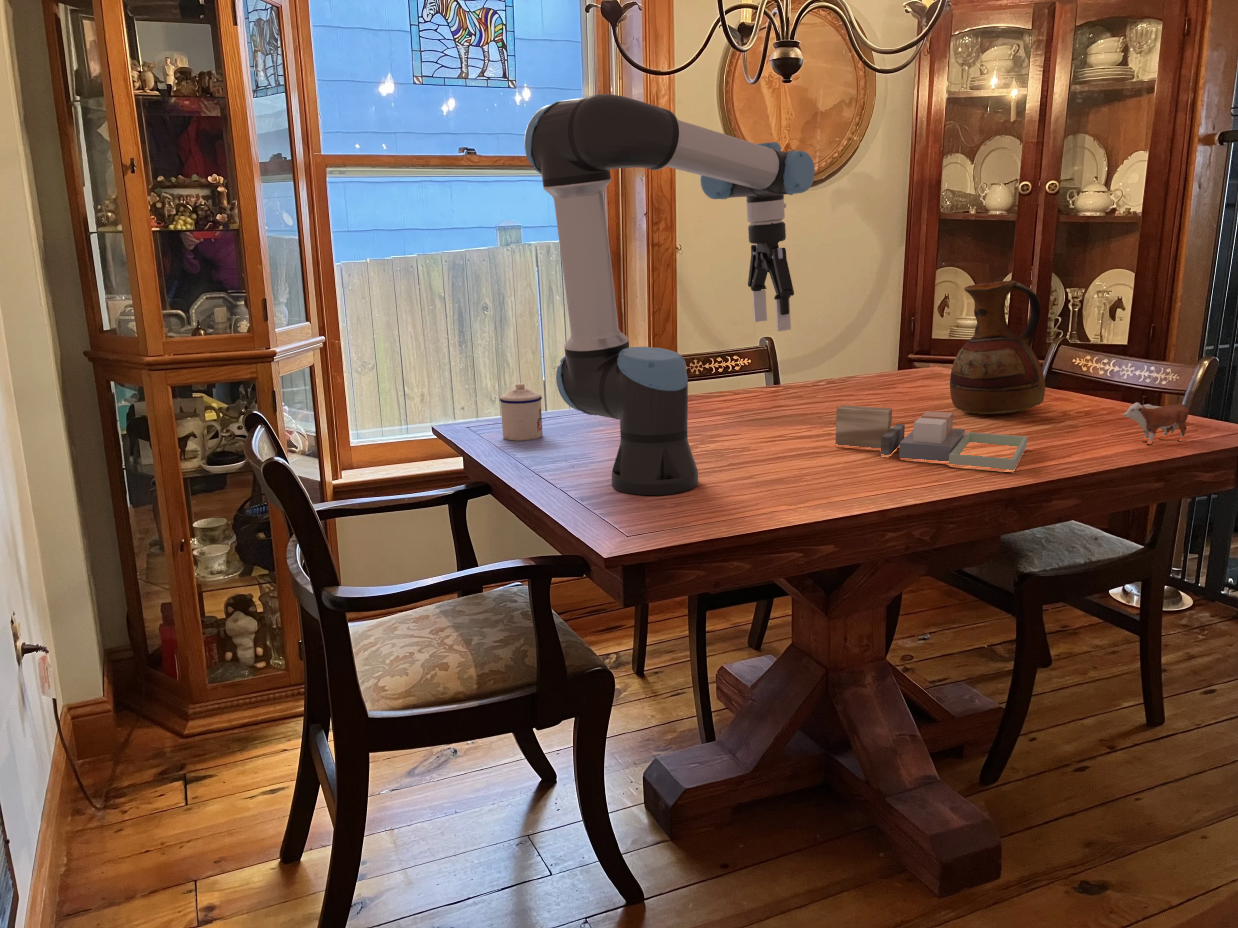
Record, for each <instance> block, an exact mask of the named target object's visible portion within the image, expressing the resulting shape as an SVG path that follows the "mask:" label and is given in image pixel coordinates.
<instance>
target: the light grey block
mask: <svg viewBox="0 0 1238 928" xmlns="http://www.w3.org/2000/svg"><path fill="white" fill-rule="evenodd" d="M946 426H947V420H945V419H930V418H922V417H919V418H917V419H916V421H914V423H913V430H914V433H913V441H917V442H930V443H942V442H943V440H944V439H945V438H946Z"/></svg>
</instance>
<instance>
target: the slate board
mask: <svg viewBox="0 0 1238 928" xmlns="http://www.w3.org/2000/svg"><path fill="white" fill-rule="evenodd" d="M965 431H966V429H964V428H955V427H953V428H952V431H951V433H950V434H949V435H948V436H946V438H945V439H944V440H943V442H942V443H930V442H917V441H913V433H914V429H912V430H911V432H909V433H908V434H907V435H906V436H904V439H903V440H902V441H901V442H900V448H899V449H898V450H899V452H898V454H899V455H898V459H899V458H910V459H911V458H912V459H924V460H925V459H926V460H938V461H949V454H950V453H951V452H952V450H953V449H954V448H955V447H956V445H957V444H958V443H959V442H960V440H961V439H962V438H963V437H964V436H965V434H966V433H965Z"/></svg>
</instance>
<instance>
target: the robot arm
mask: <svg viewBox="0 0 1238 928" xmlns="http://www.w3.org/2000/svg"><path fill="white" fill-rule="evenodd" d="M524 152H525V154H526V155H525V156H526V158H527V161H528V162H529V165H530V166H532V167H533V169H534V170H535V171H536V172H537V173H538V174H539V175H541V179H542V185H543V189H544V191H545V192H546V193H548V195H550V196H551V197H552V199H553V202H554V203H553V204H554V210H555V218H556V226H557V234H558V235H557V236H558V240H559V241H558V243H559V250H560V258H561V265H562V272H563V273H562V274H563V281H564V287H565V288H564V290H565V296H566V305H567V311H568V320H569V327H570V336H569V338H568V340H567V341H566V342H565V343H564V355H563V356H562V357H561V359H560V360H559V363H560V364H559V365H558V366H557V368H556V373H555V381H556V386H557V390H558V392H559V394H560V397H561V398H562V400H563V401H564V402H565V403H566V404H567V405H568V406H569V407H570V408H572V409H573V410H575V411H579V412H582V413H583V414H586V415H588V416H599V417H604V418H610V419H616V420H619V426H620V427H619V429H620V432H619V433H620V434H619V435H620V443H619V446H618V450H617V453H616V456H615V460H614V464H613V467H612V470H611V486H612V488H613V489H615V490H616V491H619V492H623V493H626V494H631V495H632V494H633V495H639V496H640V495H641V496H663V495H673V494H679V493H683V492H687V491H690V490H692V489H694V488H696V487H697V486H698V485H699V471H698V468H697V467H698V466H697V464H696V460H695V458H694V456H693V455H694V454H693V453H692V450H691V447H690V444H689V440H688V439H689V437H688V413H689V412H688V405H689V404H688V403H689V401H688V397H689V396H688V393H689V392H688V390H689V389H688V387H689V386H688V385H689V377H688V374H687V363H686V360H685V358H684V357H683V356H682V355H681V354H680V353H679V352H676V351H674V350H670V349H668V348H667V349H666V348H662V347H651V346H630V341H629V337H628V336H627V335H625V334H624V333H623V332H621V330H620V329H619V319H618V311H617V310H618V309H617V301H616V291H615V285H614V274H613V267H612V258H611V257H612V256H611V247H610V241H609V240H610V238H609V230H608V221H607V213H606V211H607V210H606V204H605V196H604V195H605V194H604V192H605V190H606V188H607V187H608V185H609V184H610V183H611V181H612V179H611V178H612V176H611V170H618V169H631V168H632V169H633V168H636V169H637V168H638V169H639V168H640V169H641V168H643V169H648V170H651V171H652V170H653V171H659V170H662V169H664V168H666V167H667V168H671V169H675V170H679V171H683V172H686V173H690V174H693V175H698V176H699V178H700V186H701V190H702V191H703V193H704V194H705V196H706V197H707V198H709V199H712V200H727V199H732V198H745V197H746V216H747V217H746V218H747V223H750V224H749V225H748V226H747V229H748V230H747V231H748V232H747V233H748V242H749V243H750V244H751V245H750V261H749V262H750V263H749V270H748V278H747V279H748V280H747V286H748V288H750V290H751V292H752V308H753V310H752V311H753V322H754V323H759V322H765V321H768V316H767V315H768V314H767V295H766V292H767V291H766V290H767V286H766V280H767V276H768V273H769V276H770V280H771V282H772V285H773V288H774V291H775V294H774V295H775V296H774V298H773V300H775V318H776V319H775V320H776V331H777V332H784V331H791V330H792V329H791V327H792V325H791V324H792V323H791V309H790V308H791V305H790V299H791V296H794V294H795V291H794V286H793V281H792V276H791V273H790V268H789V264H788V263H789V262H788V259H787V250H786V247H780V246H779V242H783V241H785V240H786V237H787V236H786V235H787V234H786V232H787V231H786V223H785V222H784V221H782V220H785V215H786V214H785V209H786V208H787V204H786V203H785V195H789V196H793V195H796V194H797V195H798V194H803V193H805V192H807V191H808V190H809V189H810V188H811V187H812V185H813V183H814V180H815V171H816V169H815V163H814V160H813V158H812V157H811V155H810V154H809V153H808V152H806V151H804V150H794V149H793V150H788V151H783V150H782V146H781V144H780V143H779V142H776V141H773V142H764V143H761V142H760V143H755V142H751V141H748V140H745V139H741V138H739V137H735V136H732V135H729V134H725V133H722V132H719V131H715V130H713V129H709V128H706V127H702V126H699V125H695V124H692V123H689V122H686V121H683V120H680V119H678V117H677V116H676V114H675V113H674V112H673V111H671V110H670V109H666V108H663V107H660V106H657V105H654V104H651V103H647V102H644V101H641V100H637V99H634V98H631V97H626V96H623V95H618V94H612V93H611V94H610V93H599V94H594V95H591V96H586V97H579V98H573V99H565V100H558V101H555V102H553V103H551V104H548V105H545V106H542V107H541V108H540V109H538V110H537V111H536V112H535V113H534V114H533V116H532V117H531V119H530V120H529V122H528V124H527V126H526V130H525V132H524Z"/></svg>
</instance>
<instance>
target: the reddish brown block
mask: <svg viewBox="0 0 1238 928" xmlns="http://www.w3.org/2000/svg"><path fill="white" fill-rule="evenodd" d="M921 418H930V419H945V420H947V426H946V436H948V435H949V434H950V433H951V431H952V428H954V427H953V424H954V412H946V411H945V412H944V411H932V410H931V411H929V410H926V411H925V412H924V413H923V414H921Z"/></svg>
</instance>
